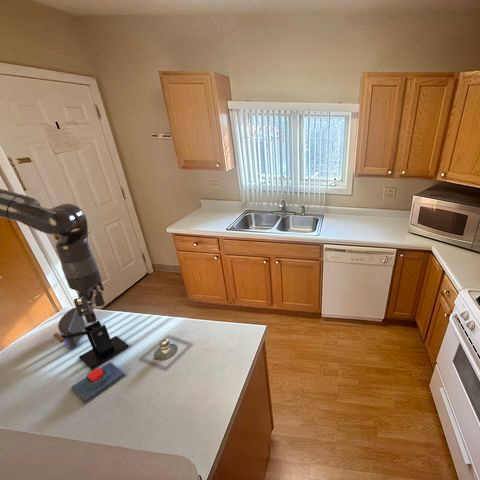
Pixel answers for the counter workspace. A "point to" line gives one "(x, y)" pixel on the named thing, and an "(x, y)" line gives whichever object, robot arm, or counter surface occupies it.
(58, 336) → the lever
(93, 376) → the button
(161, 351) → the brass knob on disc
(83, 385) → the button box
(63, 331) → the leaning round-cornered charcoal block
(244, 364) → the counter surface
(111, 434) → the counter surface
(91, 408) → the counter surface
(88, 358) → the bracket
